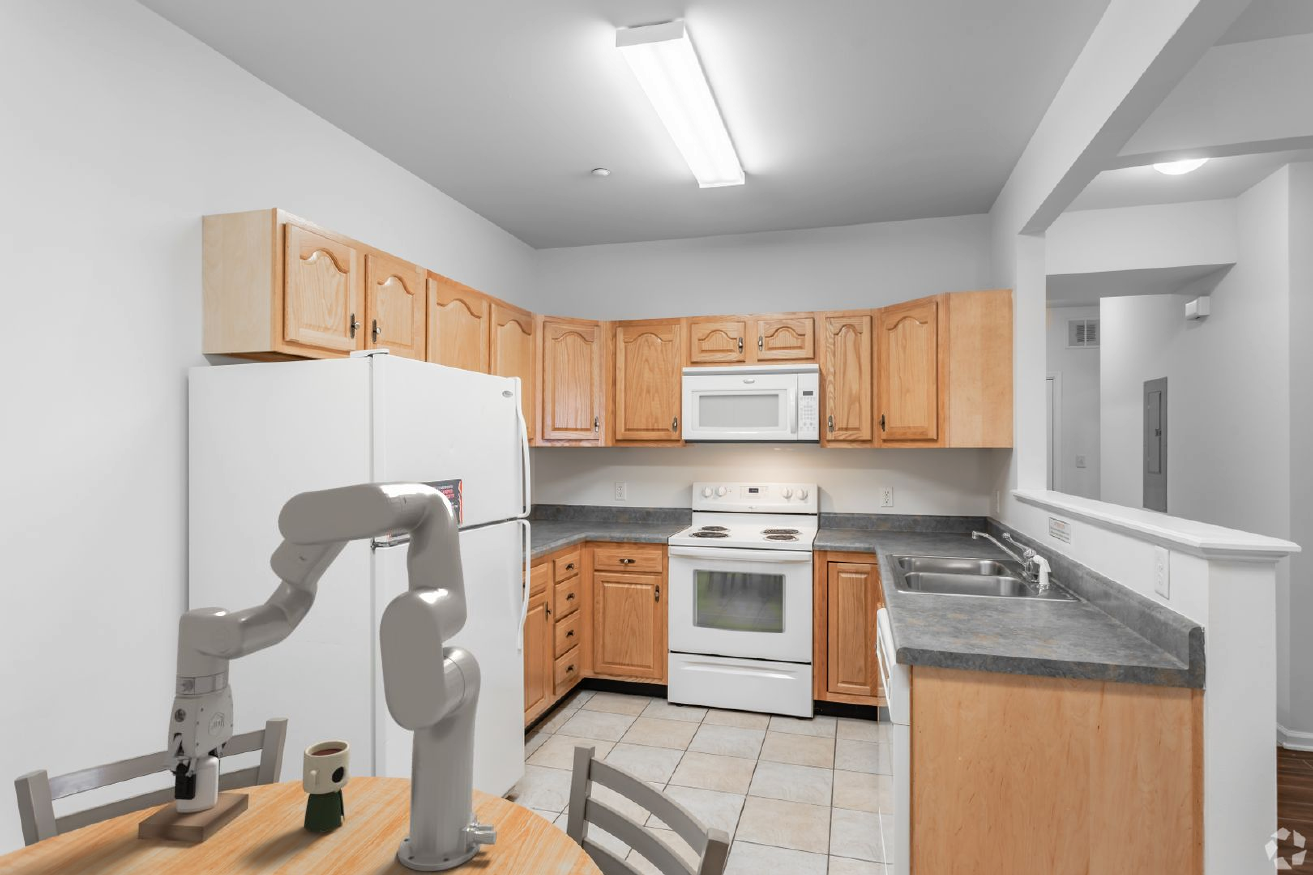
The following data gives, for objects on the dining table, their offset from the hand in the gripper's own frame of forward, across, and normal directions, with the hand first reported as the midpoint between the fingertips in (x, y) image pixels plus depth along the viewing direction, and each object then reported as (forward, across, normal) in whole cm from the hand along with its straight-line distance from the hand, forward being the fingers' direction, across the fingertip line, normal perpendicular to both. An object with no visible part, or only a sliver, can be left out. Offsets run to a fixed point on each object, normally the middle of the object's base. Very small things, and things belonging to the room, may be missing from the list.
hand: (197, 789), depth 115 cm
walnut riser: (+6, 0, 0) cm, 6 cm away
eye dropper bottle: (+3, 0, 0) cm, 3 cm away
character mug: (+6, +1, -22) cm, 23 cm away
